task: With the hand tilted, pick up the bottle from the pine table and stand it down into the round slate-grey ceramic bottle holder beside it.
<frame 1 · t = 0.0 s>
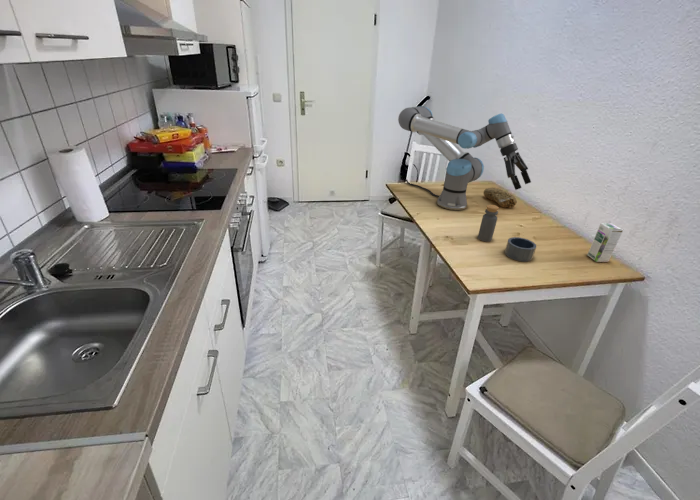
hand: (523, 186, 176), 15 cm above the table, tool tilted 35°, fingers open, 13 cm apart
syrup box: (597, 259, 146), on the table
bread loaf: (497, 202, 199), on the table
holder: (518, 255, 145), on the table
bottle: (484, 239, 157), on the table
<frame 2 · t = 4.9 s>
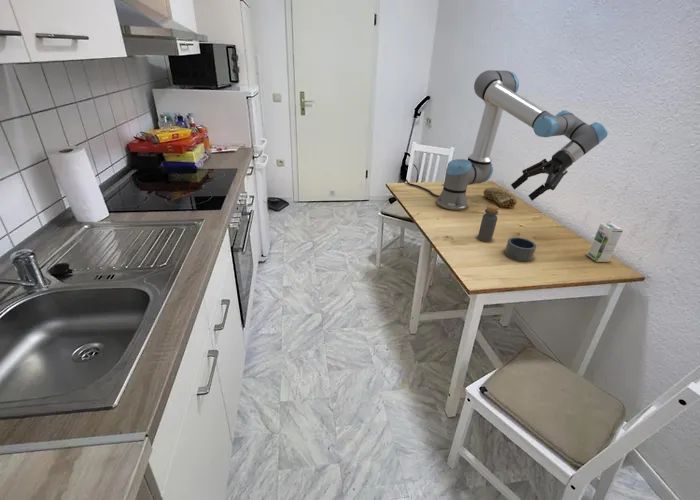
hand: (521, 192, 148), 21 cm above the table, tool tilted 45°, fingers open, 13 cm apart
nothing on the table moved.
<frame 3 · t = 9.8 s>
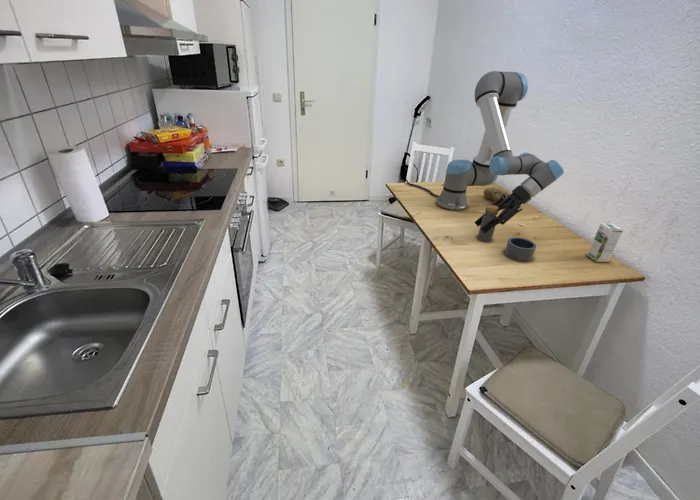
hand: (479, 227, 154), 5 cm above the table, tool tilted 45°, fingers closed on bottle, 6 cm apart
bottle: (484, 239, 157), on the table, touching gripper
everything else where it was.
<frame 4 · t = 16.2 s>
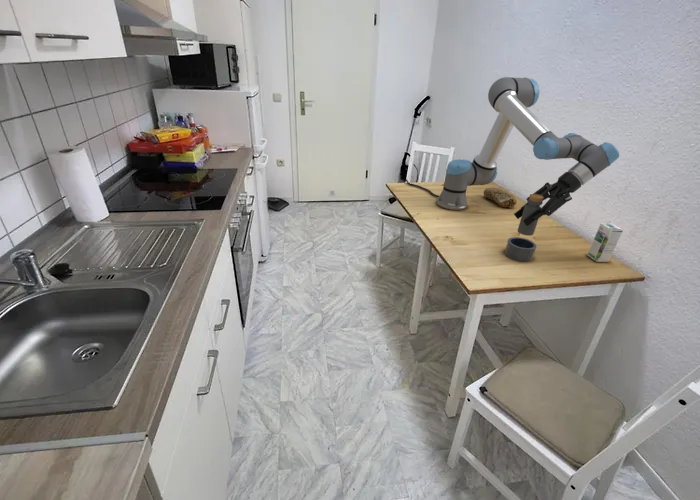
hand: (520, 219, 137), 15 cm above the table, tool tilted 45°, fingers closed on bottle, 6 cm apart
bottle: (525, 233, 140), point 10 cm above the table, touching gripper
everything else where it was.
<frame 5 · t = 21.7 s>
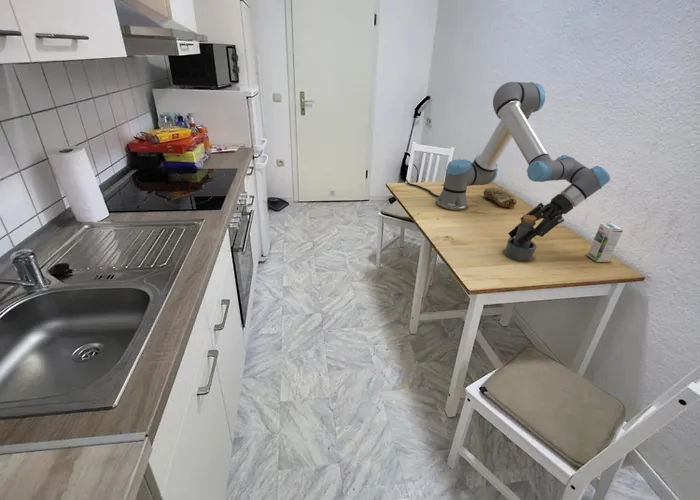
hand: (514, 239, 141), 7 cm above the table, tool tilted 45°, fingers closed on bottle, 6 cm apart
bottle: (519, 251, 144), point 1 cm above the table, touching gripper
everything else where it was.
when the fingers open (7 cm above the table, at t = 22.8 s): bottle drops 1 cm, resting on holder.
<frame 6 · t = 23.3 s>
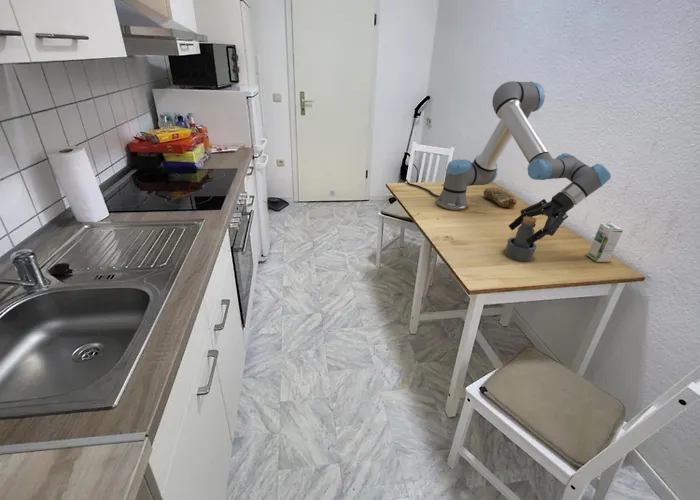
hand: (518, 235, 140), 9 cm above the table, tool tilted 45°, fingers open, 12 cm apart
bottle: (518, 253, 144), point 1 cm above the table, touching holder
everything else where it was.
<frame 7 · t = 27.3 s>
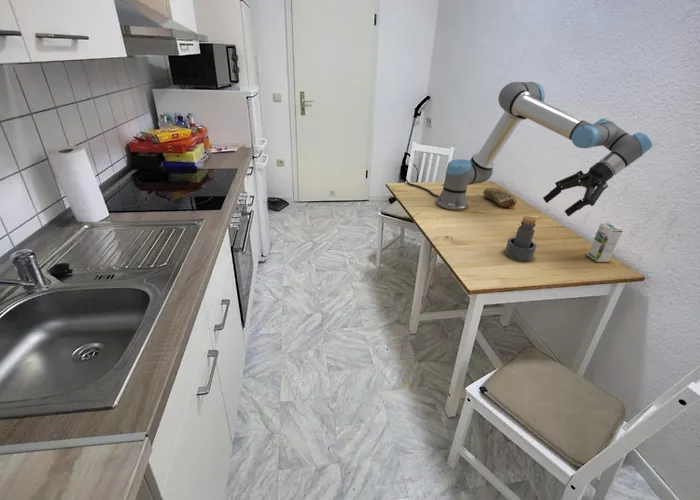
hand: (555, 206, 138), 20 cm above the table, tool tilted 45°, fingers open, 13 cm apart
nothing on the table moved.
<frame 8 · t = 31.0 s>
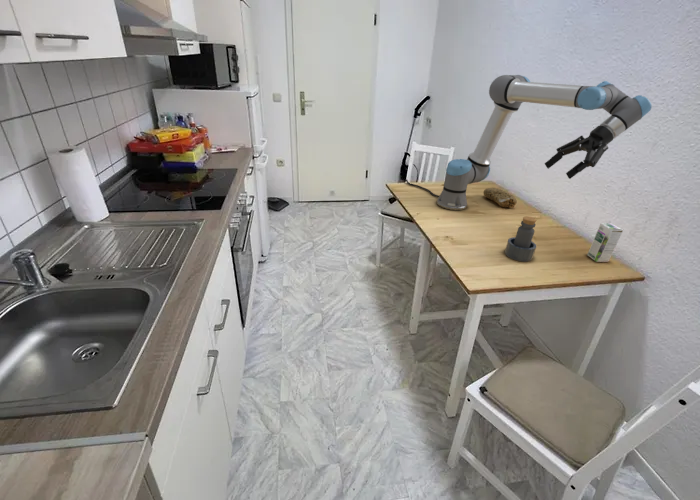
hand: (556, 171, 140), 32 cm above the table, tool tilted 45°, fingers open, 13 cm apart
nothing on the table moved.
at the end: bottle 0.0 cm off-centre in the holder, point 0.8 cm above the holder's base; bottle tilted 0°; the gripper is holding nothing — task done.
